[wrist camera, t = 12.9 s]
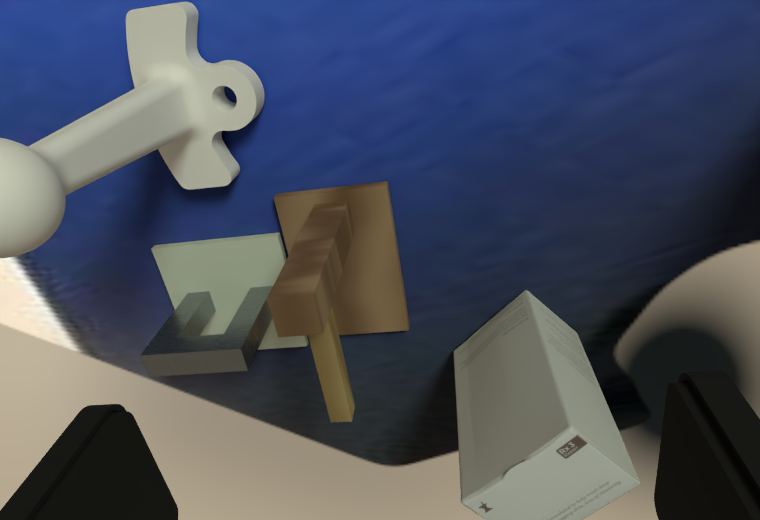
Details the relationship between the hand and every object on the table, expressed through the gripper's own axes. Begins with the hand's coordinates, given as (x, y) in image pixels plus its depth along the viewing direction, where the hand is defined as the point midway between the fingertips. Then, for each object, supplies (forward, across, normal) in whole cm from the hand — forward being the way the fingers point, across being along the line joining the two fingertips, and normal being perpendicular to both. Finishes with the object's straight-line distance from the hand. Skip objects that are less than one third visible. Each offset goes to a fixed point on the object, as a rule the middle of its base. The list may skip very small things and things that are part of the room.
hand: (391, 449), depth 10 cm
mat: (+28, +16, +13) cm, 35 cm away
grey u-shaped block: (+28, +16, +13) cm, 35 cm away
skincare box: (+28, -5, +19) cm, 35 cm away
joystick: (+28, +14, -2) cm, 32 cm away
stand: (+28, +7, +11) cm, 31 cm away
